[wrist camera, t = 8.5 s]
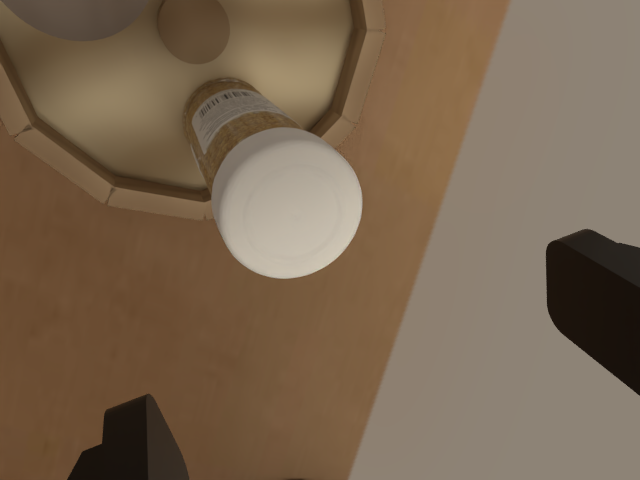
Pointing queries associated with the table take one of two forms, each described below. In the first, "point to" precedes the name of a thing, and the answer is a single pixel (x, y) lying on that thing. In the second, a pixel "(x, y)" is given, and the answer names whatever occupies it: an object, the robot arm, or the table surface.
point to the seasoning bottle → (270, 181)
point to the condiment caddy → (180, 88)
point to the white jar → (78, 16)
